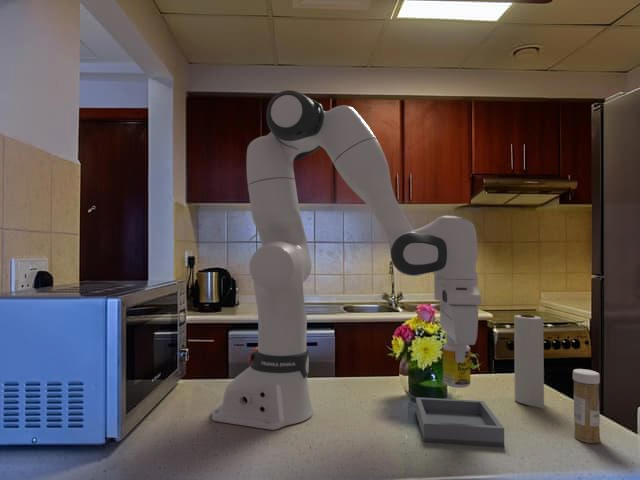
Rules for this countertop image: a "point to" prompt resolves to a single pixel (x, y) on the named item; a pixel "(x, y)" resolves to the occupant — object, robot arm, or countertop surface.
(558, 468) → the countertop surface
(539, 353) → the paper towel roll
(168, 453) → the countertop surface
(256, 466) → the countertop surface
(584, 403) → the spice jar
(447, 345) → the supplement bottle
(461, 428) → the tray
